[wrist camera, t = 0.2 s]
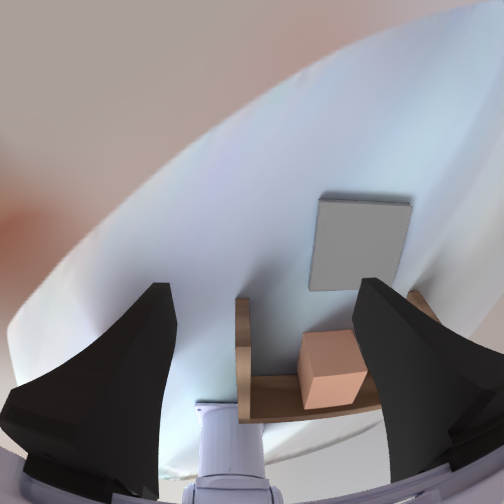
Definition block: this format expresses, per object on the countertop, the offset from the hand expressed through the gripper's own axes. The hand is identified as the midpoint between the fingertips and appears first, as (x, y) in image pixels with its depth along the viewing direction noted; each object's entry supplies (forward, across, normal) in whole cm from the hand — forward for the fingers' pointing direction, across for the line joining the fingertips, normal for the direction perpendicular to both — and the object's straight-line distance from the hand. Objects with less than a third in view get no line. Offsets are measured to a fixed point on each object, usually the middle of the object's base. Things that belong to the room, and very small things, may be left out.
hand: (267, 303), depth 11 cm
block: (+10, -6, +14) cm, 18 cm away
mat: (+10, -8, +3) cm, 13 cm away
